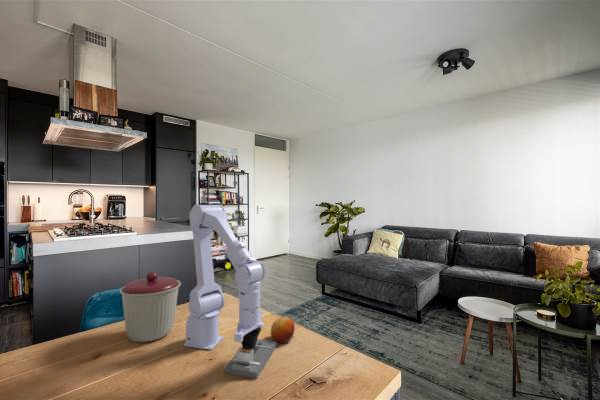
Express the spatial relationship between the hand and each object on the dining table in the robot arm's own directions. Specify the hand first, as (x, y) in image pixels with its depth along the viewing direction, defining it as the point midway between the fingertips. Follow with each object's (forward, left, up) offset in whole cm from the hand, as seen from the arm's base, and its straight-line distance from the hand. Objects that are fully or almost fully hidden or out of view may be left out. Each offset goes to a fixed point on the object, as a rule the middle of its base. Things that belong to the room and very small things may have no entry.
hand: (249, 355), depth 75 cm
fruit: (+5, +16, -3) cm, 17 cm away
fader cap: (0, -3, -1) cm, 3 cm away
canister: (-39, +8, -3) cm, 40 cm away
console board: (0, +3, -2) cm, 4 cm away
